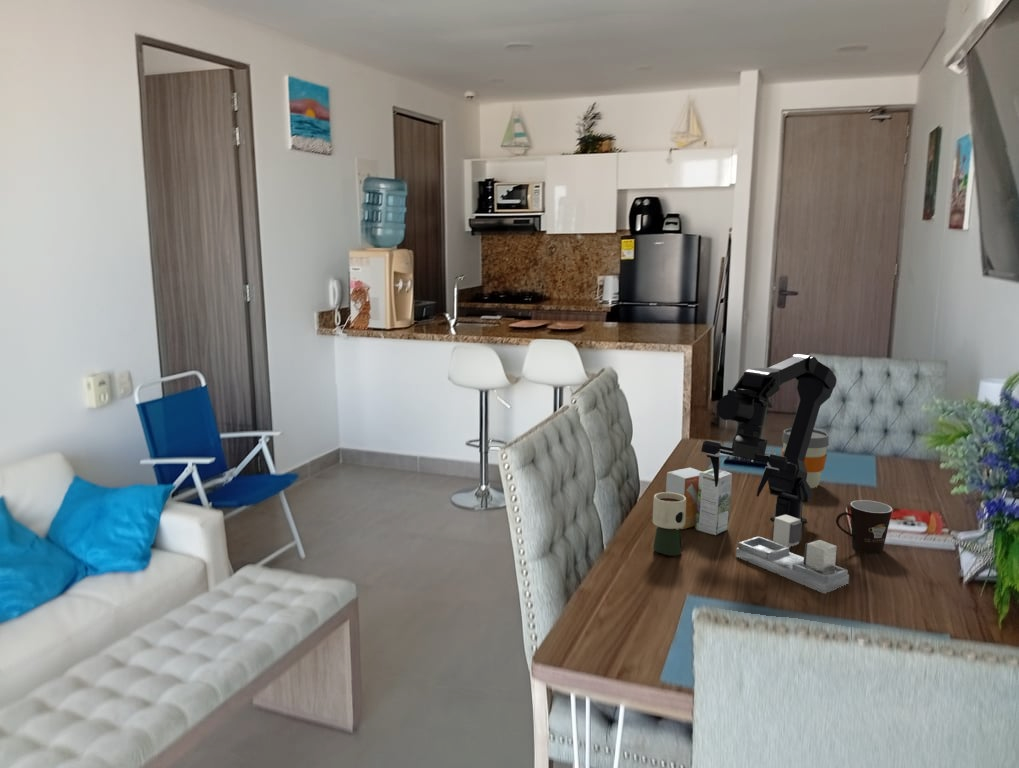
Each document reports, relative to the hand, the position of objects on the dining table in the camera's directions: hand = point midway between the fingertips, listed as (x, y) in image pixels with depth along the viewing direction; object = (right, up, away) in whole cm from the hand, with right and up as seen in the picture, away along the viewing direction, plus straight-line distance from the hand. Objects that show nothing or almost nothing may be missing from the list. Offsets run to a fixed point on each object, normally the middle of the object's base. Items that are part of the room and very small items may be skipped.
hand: (736, 491), depth 178 cm
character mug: (-17, -13, -4) cm, 22 cm away
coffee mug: (+28, -13, 0) cm, 31 cm away
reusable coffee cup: (+32, -4, +46) cm, 57 cm away
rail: (+8, -15, -13) cm, 21 cm away
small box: (-9, -10, +14) cm, 20 cm away
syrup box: (-3, -11, +10) cm, 15 cm away
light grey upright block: (+12, -12, +2) cm, 17 cm away
